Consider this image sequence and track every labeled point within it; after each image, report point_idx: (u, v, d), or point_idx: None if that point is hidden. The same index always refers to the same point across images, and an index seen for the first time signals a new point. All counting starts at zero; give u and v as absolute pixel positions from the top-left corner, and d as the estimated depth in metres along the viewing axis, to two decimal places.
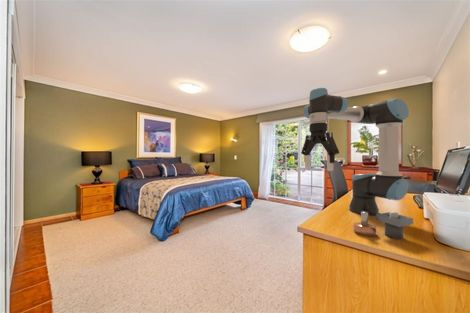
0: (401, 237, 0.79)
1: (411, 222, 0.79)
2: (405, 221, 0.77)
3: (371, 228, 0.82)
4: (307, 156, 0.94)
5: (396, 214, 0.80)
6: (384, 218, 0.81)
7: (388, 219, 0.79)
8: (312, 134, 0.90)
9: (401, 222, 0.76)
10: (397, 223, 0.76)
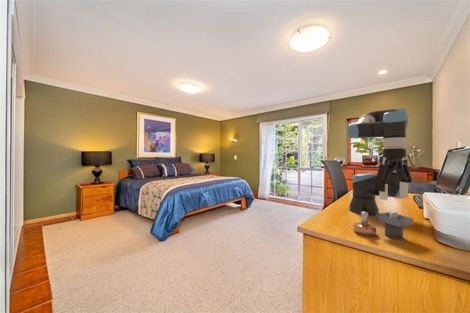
0: (401, 237, 0.79)
1: (411, 222, 0.79)
2: (405, 221, 0.77)
3: (371, 228, 0.82)
4: (402, 183, 0.84)
5: (396, 214, 0.80)
6: (384, 218, 0.81)
7: (388, 219, 0.79)
8: None
9: (401, 222, 0.76)
10: (397, 223, 0.76)
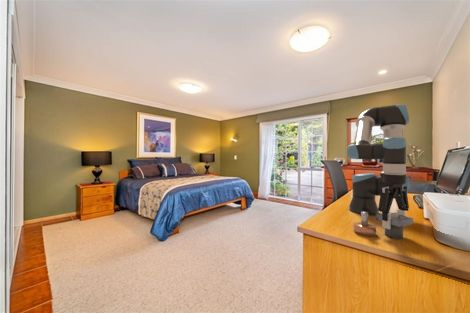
0: (401, 237, 0.79)
1: (411, 222, 0.79)
2: (405, 221, 0.77)
3: (371, 228, 0.82)
4: (399, 211, 0.84)
5: (396, 214, 0.80)
6: None
7: None
8: None
9: (401, 222, 0.76)
10: (397, 223, 0.76)
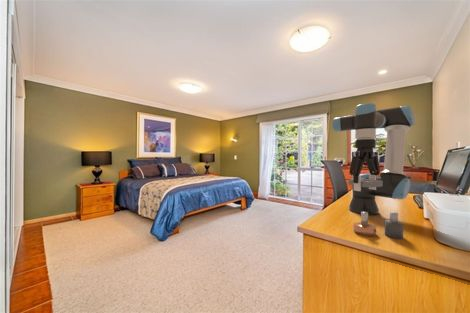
0: (401, 237, 0.79)
1: (380, 184, 0.82)
2: (374, 183, 0.81)
3: (371, 228, 0.82)
4: (370, 176, 0.87)
5: (396, 214, 0.80)
6: None
7: None
8: None
9: (370, 183, 0.80)
10: (366, 184, 0.80)
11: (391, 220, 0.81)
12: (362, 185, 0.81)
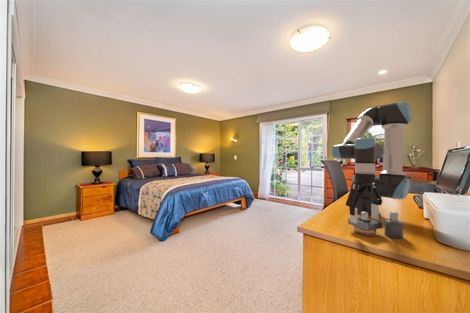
0: (401, 237, 0.79)
1: (380, 226, 0.82)
2: (374, 225, 0.81)
3: None
4: (373, 205, 0.88)
5: (396, 214, 0.80)
6: None
7: (358, 223, 0.83)
8: None
9: (370, 226, 0.80)
10: (366, 227, 0.80)
11: (391, 220, 0.81)
12: (362, 227, 0.82)
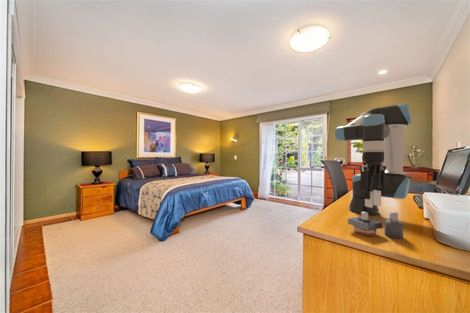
0: (401, 237, 0.79)
1: (380, 226, 0.82)
2: (374, 225, 0.81)
3: None
4: (375, 191, 0.83)
5: (396, 214, 0.80)
6: (355, 222, 0.84)
7: (358, 223, 0.83)
8: None
9: (370, 226, 0.80)
10: (366, 227, 0.80)
11: (391, 220, 0.81)
12: (362, 227, 0.82)
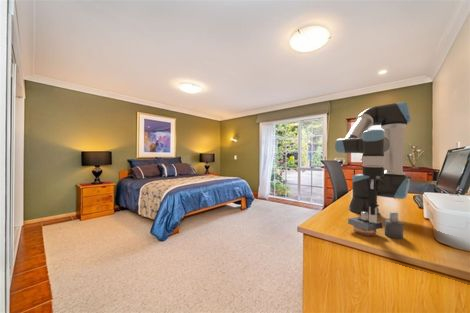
0: (401, 237, 0.79)
1: (380, 226, 0.82)
2: (374, 225, 0.81)
3: None
4: None
5: (396, 214, 0.80)
6: (355, 222, 0.84)
7: (358, 223, 0.83)
8: None
9: (370, 226, 0.80)
10: (366, 227, 0.80)
11: (391, 220, 0.81)
12: (362, 227, 0.82)
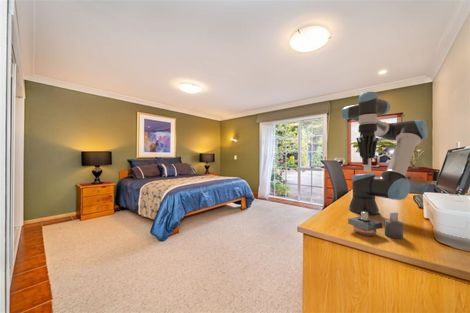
0: (401, 237, 0.79)
1: (380, 226, 0.82)
2: (374, 225, 0.81)
3: None
4: None
5: (396, 214, 0.80)
6: (355, 222, 0.84)
7: (358, 223, 0.83)
8: None
9: (370, 226, 0.80)
10: (366, 227, 0.80)
11: (391, 220, 0.81)
12: (362, 227, 0.82)
